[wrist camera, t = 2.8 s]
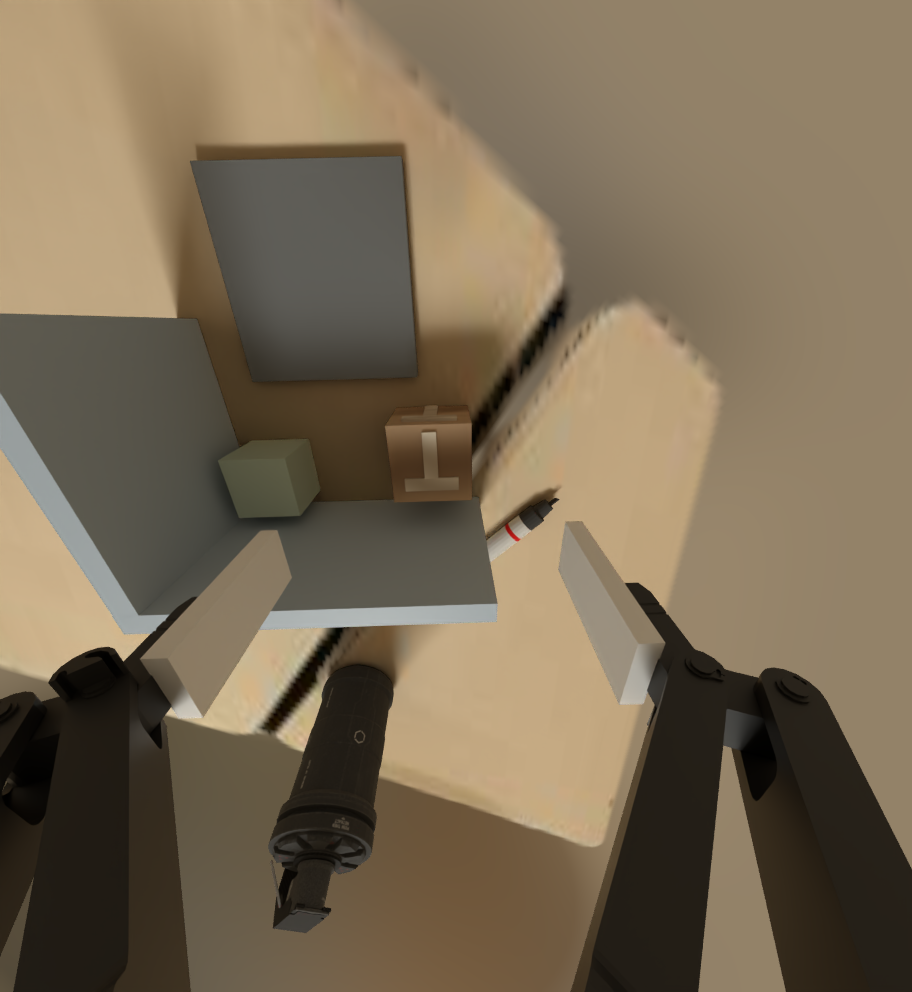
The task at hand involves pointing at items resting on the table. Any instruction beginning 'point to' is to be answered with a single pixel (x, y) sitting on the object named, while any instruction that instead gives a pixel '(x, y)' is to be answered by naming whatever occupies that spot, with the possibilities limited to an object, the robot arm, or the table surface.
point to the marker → (518, 528)
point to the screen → (204, 488)
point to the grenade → (331, 796)
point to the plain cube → (271, 477)
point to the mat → (314, 264)
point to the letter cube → (430, 453)
